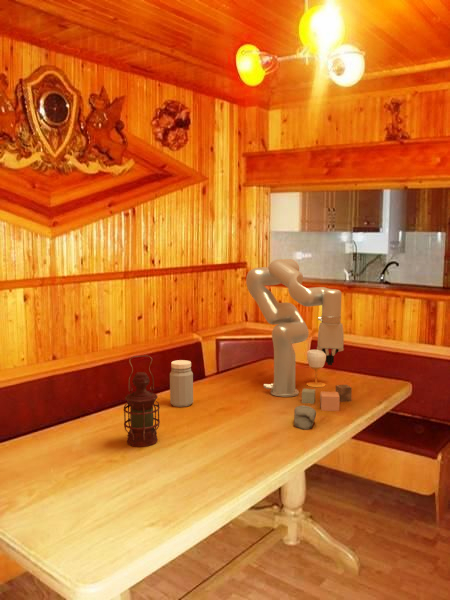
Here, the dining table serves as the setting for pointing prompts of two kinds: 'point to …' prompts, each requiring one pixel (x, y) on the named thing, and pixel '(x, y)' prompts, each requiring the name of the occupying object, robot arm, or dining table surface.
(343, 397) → the walnut block
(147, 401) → the lantern
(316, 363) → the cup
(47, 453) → the dining table surface
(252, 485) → the dining table surface
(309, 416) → the stone
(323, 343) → the robot arm
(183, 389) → the jar
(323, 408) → the terracotta block
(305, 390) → the greygreen block
